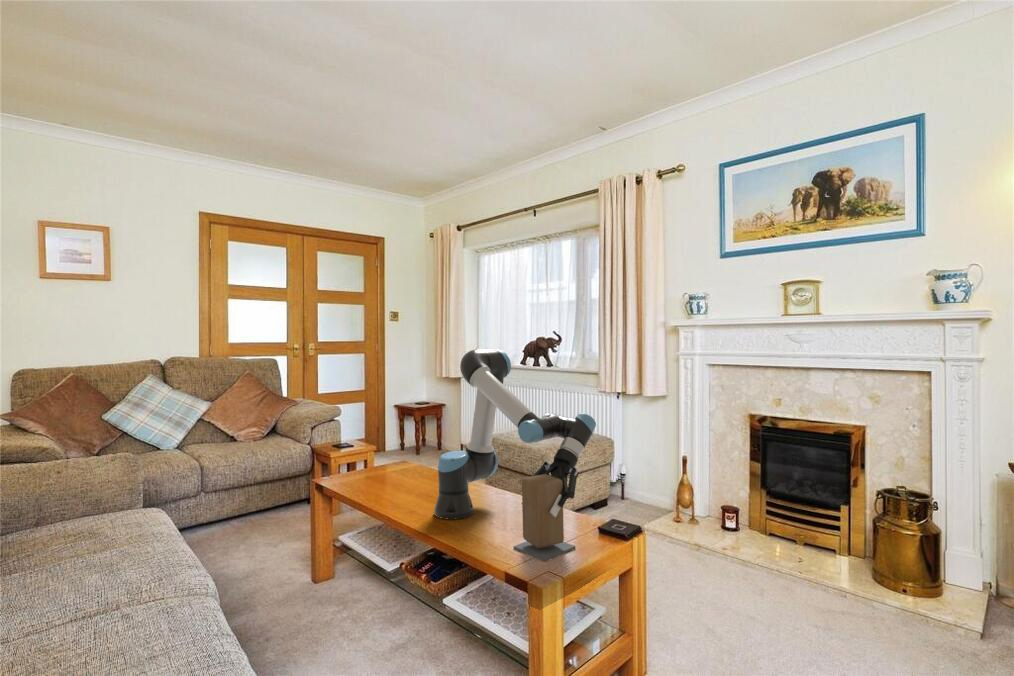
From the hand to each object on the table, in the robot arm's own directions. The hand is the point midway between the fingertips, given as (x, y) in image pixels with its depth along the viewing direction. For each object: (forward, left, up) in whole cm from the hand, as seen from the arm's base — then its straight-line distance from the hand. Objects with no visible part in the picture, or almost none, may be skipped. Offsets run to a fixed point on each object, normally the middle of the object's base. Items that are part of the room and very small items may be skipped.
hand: (537, 510), depth 161 cm
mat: (0, +3, -13) cm, 13 cm away
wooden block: (0, +2, -10) cm, 11 cm away
